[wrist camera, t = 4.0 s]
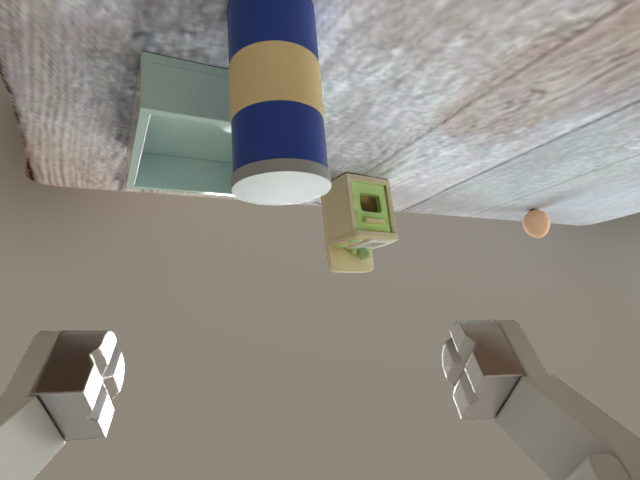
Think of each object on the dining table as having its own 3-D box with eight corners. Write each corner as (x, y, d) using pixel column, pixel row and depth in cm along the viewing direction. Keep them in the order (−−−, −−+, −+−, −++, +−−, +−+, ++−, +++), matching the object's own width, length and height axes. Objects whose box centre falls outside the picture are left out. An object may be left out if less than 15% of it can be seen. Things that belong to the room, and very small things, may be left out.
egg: (552, 207, 88) (558, 235, 87) (530, 214, 93) (535, 241, 92) (537, 205, 86) (542, 234, 85) (515, 212, 90) (520, 240, 89)
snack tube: (240, -37, 26) (249, 165, 23) (332, -7, 29) (350, 177, 26) (215, 31, 31) (219, 202, 28) (294, 51, 34) (306, 208, 31)
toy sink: (393, 178, 64) (404, 264, 61) (362, 193, 70) (370, 273, 67) (348, 169, 60) (357, 263, 57) (319, 187, 65) (326, 272, 63)
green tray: (140, 50, 33) (140, 107, 32) (303, 85, 39) (307, 134, 38) (126, 147, 48) (125, 187, 47) (245, 161, 54) (246, 197, 53)
